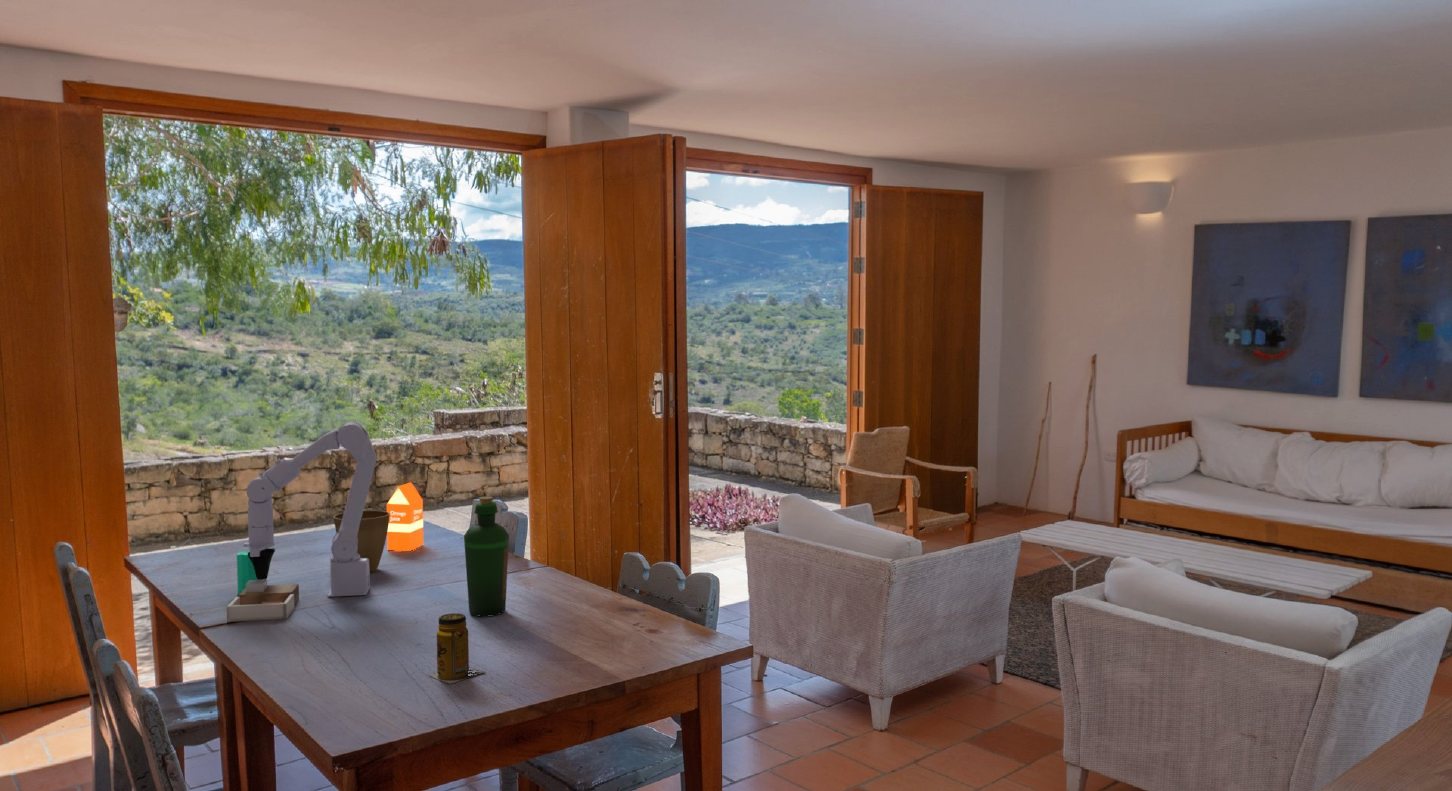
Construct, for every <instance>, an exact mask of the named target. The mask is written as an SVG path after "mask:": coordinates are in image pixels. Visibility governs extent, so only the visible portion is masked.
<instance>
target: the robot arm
mask: <svg viewBox="0 0 1452 791" xmlns="http://www.w3.org/2000/svg"><path fill="white" fill-rule="evenodd" d="M340 446H341V447H342V448H343V449H345V450H347V451H348V452H349V453H350V455H352V457H353V458H354V460H355V461H356V465H355V468H354V474H353V476H352V477H353V478H352V481H351V483H350V484H351V485H350V488H349V492H348V494H347V495H348V496H347V499H346V504H345V508H344V511H343V513H344V514H343V518H342V522H341V525H340V529H339V531H338V532H337V533H336V532H335V534H334V535H333V538H332V542H331V547H330V548H331V549H330V550H331V554H332V556H331V557H330V558H329V560H330V561H329V562H330V563H329V565H330V568H329V569H330V572H329V573H330V590H329V592H328V593H327V595H326V597H327V598H331V597H332V598H333V597H352V596H366V595H367V594H368V592H369V590H370V588H371V580H370V576H371V574H370V573H371V572H369V559H368V558H360V555H359V554H358V553H357V550H358V538H357V535H358V530H359V525H360V521H361V517H362V514H363V511H365V510H364V509H365V506H366V502H367V498H368V494H369V490H370V486H371V482H372V479H373V475H374V471H375V467H376V465H377V464H376V463H377V453H376V451H375V448H374V445H373V443H372V441H371V439H370V435H369V433H368V432H367V430H366V429H365V428H364V427H363V426H362V425H361V424H360V423H359V422H357V421H353V420H351V421H345V422H343V423H342V424H341V425H340V426H337V427H335V428H334V429H332V430H330V431H328V432H326V433H325V434H323V435H322V436H320V437H319V438H317V439H316V440H315V441H313V443H311V444H310V445H309V446H307V447H306V448H305V449H303V450H302V451H301V452H299V453H298V454H296V455H295V456H294V457H283V458H282V459H281V458H278V459H277V460H275V464H273V465H272V466H271V467H270V468H268V469H267V470H266V471H260V472H259V473H258V477H257V476H256V477H254V478H253V479H252V480H251V481H250V482H249V484H248V485H247V487H246V495H247V496H246V497H248V501H247V505H248V507H247V524H248V525H247V527H248V529H247V531H248V542H244V543H243V547H244V548H248V550H249V549H250V552H248V557H249V559H250V560H251V562H252V564H253V567H254V570H255V574H256V578H257V580H262V579H263V580H266V579H267V578H268V576H269V571H270V566H271V561H272V558H273V555H274V554H275V552H276V549H275V548H274V546H275V544H276V542H275V540H274V538H275V537H274V536H275V535H274V534H275V533H274V532H275V531H274V530H275V529H274V506H273V502H272V501H273V497H272V495H273V493H274V492H277V491H280V490H281V489H283V488H285V487H286V486H287V485H288V484H290V483H291V482H292V481H294V480H295V479H296V478H298V477H299V476H301V469H302V468H303V467H304V466H306V465H307V464H308V463H310V462H312V461H313V460H314V459H316V458H318V457H319V456H321V455H322V454H323V453H325V452H327V451H330V450H332V451H333V450H339V449H340ZM272 547H273V548H272ZM267 580H268V579H267Z"/></svg>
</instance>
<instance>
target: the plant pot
mask: <svg viewBox="0 0 1452 791" xmlns="http://www.w3.org/2000/svg"><path fill="white" fill-rule="evenodd" d="M343 514H344V512H341V513H337V514H334V515H333V523H334V528H335V534H336V533H337V532H338V531H339V529H340V525H341V522H342V518H343ZM389 517H390V513H389V512H387V510H386V511H384V510H370V509H369V510H363V514H362V517H361V521H360V525H359V530H358V535H357V538H358V550H357V553H358V554H359V555H360V558H368V559H369V572H370V573H373V572H375V571H377V570H378V567H379V565H380V561H381V558H382V555H383V552H384V548H385V545H386V542H387V531H388V525H389Z"/></svg>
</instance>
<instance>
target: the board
mask: <svg viewBox="0 0 1452 791" xmlns="http://www.w3.org/2000/svg"><path fill="white" fill-rule="evenodd" d="M299 585H300V584H299V583H293V584H273V585H271V584H269V585H268V584H267V588H266V589H265V591H264V592H246V588H245V589H244V590H243V591H242V592H241V593H240V594H239V595H238V597H240V605H253V604H262V602H275V601H281V602H283V603H284V602H285V601H286V599H287V598H288V597H289V596H290V594H294V607H295V606H296V604H298V601H299V600H300V589H299V588H300V586H299Z"/></svg>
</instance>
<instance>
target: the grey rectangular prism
mask: <svg viewBox="0 0 1452 791" xmlns="http://www.w3.org/2000/svg"><path fill="white" fill-rule="evenodd" d="M267 585H268V579H263V580H249V581H248V582H247V583H246V592H264V591H265V589H266V588H267Z"/></svg>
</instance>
